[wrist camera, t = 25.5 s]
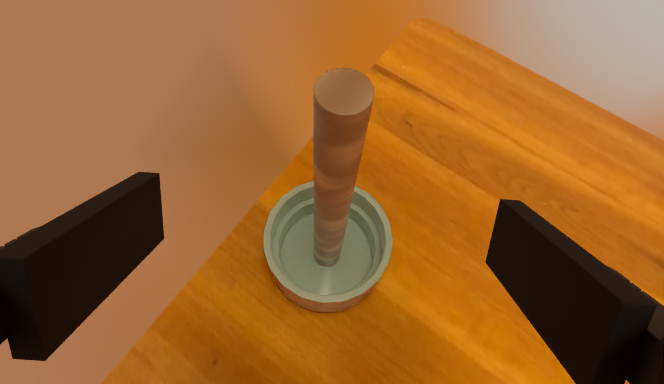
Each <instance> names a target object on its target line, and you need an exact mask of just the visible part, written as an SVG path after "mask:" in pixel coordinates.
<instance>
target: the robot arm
mask: <svg viewBox="0 0 664 384" xmlns="http://www.w3.org/2000/svg"><path fill="white" fill-rule="evenodd" d="M163 239H164V231H163V217H162V204H161V191H160V177H159V173H149V172H138V173H136V174H134V175H132V176H131V177H129V178H127V179H125V180H123V181H122V182H120V183H118V184H116V185H115V186H113V187H111V188H109V189H107V190H106V191H104V192H102V193H100V194H98V195H96V196H95V197H93V198H91V199H89V200H88V201H86V202H84V203H82V204H80V205H79V206H77V207H75V208H73V209H71V210H70V211H68V212H66V213H65V214H62V215H61V216H59V217H57V218H55V219H53V220H52V221H50V222H48V223H46V224H45V225H43V226H41V227H37V228H34V229H32V230H30V231H28V232H26V233H25V234H23V235H21V236H19V237H17V239H14V240H12V241H10V242H8V243H6V244H5V246H1V247H0V344H1V343H2V342H4V341H5V340H6V339H7V338H8V342H9V346H10V350H11V354H12V358H13V359H24V360H38V361H39V360H40V361H45V360H46V359H47V358H48V357H49V356H50V355H51V354H52V353H53V352H54V351H55V350H56V349H57V348H58V347H59V346H60V345H61V344H62V343H63V342H64V341H65V340H66V339H67V338H68V337H69V336H70V335H71V334H72V333H73V332H74V331H75V330H76V328H77V327H79V326H80V324H81V323H82V322H83V321H84V320H85V319H86V318H87V317H88V316H89V315H90V314H91V313H92V312H93V311H94V310H95V309H96V308H97V307H98V306H99V305H100V304H101V303H102V302H103V301H104V300H105V299H106V298H107V297H108V296H109V295H110V294H111V293H112V292H113V291H114V290H115V289H116V287H117V286H118V285H119V284H120V283H121V282H122V281H123V280H124V279H125V278H126V277H127V276H128V275H129V274H130V273H131V272H132V271H133V270H134V269H135V268H136V267H137V266H138V265H139V264H140V263H141V262H142V261H143V260H144V259H145V257H147V256H148V255H149V254H150V252H152V251H153V249H154V248H155V247H156V246H157V245H158V244H159V243H160V242H161V241H162V240H163ZM486 264H487V265H488V266H489V268H490V269H491V270H492V272H493V273H494V274H495V276H496V277H497V278H498V280H499V281H500V282H501V284H502V285H503V286H504V288H505V289H506V290H507V292H508V293H509V294H510V296H511V297H512V298H513V300H514V301H515V302H516V304H517V305H518V307H519V308H520V309H521V311H522V312H523V313H524V315H525V316H526V317H527V319H528V320H529V321H530V323H531V324H532V325H533V327H534V328H535V329H536V331H537V332H538V333H539V335H540V336H541V337H542V339H543V340H544V341H545V343H546V344H547V345H548V347H549V348H550V349H551V351H552V352H553V354H554V355H555V356H556V358H557V359H558V360H559V362H560V363H561V364H562V366H563V367H564V368H565V370H566V371H567V372H568V374H569V375H570V376H571V378H572V379H573V380H574V382H575V383H576V384H624V383H625V381H626V380H627V381H628V382H629V383H630V384H664V306H663V305H661V304H660V303H659V302H657V301H656V300H655V299H653V298H652V297H651V296H649V295H648V294H647V293H645V292H644V291H641V289H640V288H639V287H637V286H636V285H635V284H633V283H630V281H629V280H628V279H627V278H625V277H624V276H623V275H621V274H620V273H619V272H617V271H616V270H614V269H612V268H610V267H608V266H606V265H604V264H603V263H602V262H600V261H599V260H598V259H596V258H595V257H594V256H592V255H591V254H590V253H588V252H587V251H586V250H585V249H583V248H582V247H581V246H579V245H578V244H577V243H575V242H574V241H573V240H571V239H570V238H569V237H567V236H566V235H565V234H563V233H562V232H561V231H559V230H558V229H557V228H555V227H554V226H553V225H551V224H550V223H549V222H548V221H546V220H545V219H544V218H542V217H541V216H540V215H538V214H537V213H536V212H534V211H533V210H532V209H530V208H529V207H528V206H526V205H525V204H524V203H522V202H521V201H518V200H505V199H500V203H499V207H498V211H497V215H496V220H495V224H494V228H493V232H492V237H491V241H490V245H489V249H488V254H487V258H486Z"/></svg>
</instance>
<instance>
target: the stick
mask: <svg viewBox="0 0 664 384" xmlns="http://www.w3.org/2000/svg"><path fill="white" fill-rule="evenodd" d="M373 99H374V88H373V85H372V83H371V81H370V80H369V79H368V78H367V77H366V76H365V75H364V74H362V73H361V72H359V71H357V70H354V69H349V68H336V69H332V70H329V71H327V72H325V73H324V74H322V75H321V76H320V77H319V78H318V79H317V81H316V83H315V85H314V258H315V260H316V262H317V263H318V264H319V265H321V266H324V267H330V266H333V265H334V264H336V263H337V262H338V260H339V257H340V253H341V248H342V244H343V239H344V234H345V230H346V225H347V220H348V216H349V211H350V206H351V202H352V197H353V192H354V188H355V183H356V178H357V174H358V169H359V165H360V160H361V155H362V151H363V146H364V141H365V137H366V132H367V127H368V123H369V118H370V113H371V109H372V104H373Z"/></svg>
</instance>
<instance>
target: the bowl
mask: <svg viewBox="0 0 664 384" xmlns="http://www.w3.org/2000/svg"><path fill="white" fill-rule="evenodd" d="M392 242H393V241H392V234H391V227H390V223H389V221H388V219H387V217H386V215H385V213H384V211H383V209H382V207H381V206H380V205H379V204H378V203H377V202H376V200H375V199H374V198H373V197H372V196H371V195H370V194H369V193H368V192H366V191H364V190H362V189H361V188H359V187H357V186H355V188H354V192H353V197H352V202H351V206H350V211H349V216H348V220H347V225H346V230H345V234H344V239H343V244H342V248H341V253H340V257H339V260H338V262H337V263H336V264H334V265H333V266H330V267H324V266H321V265H319V264H318V263H317V262H316V260H315V258H314V181H311V182H308V183H305V184H302V185H299V186H296V187H295V188H293V189H292V190H291V191H289V192H288V193H286V194H285V195H284V196H282V197H281V198H280V200H279V201H278V202H277V204H276V205H275V206H274V207H273V209H272V210H271V211H270V213H269V216H268V219H267V222H266V225H265V228H264V231H263V250H264V253H265V256H266V259H267V262H268V265H269V268H270V270H271V273H272V275H273V278H274V280H275V282H276V284H277V285H278V287H279V288H280V289H281V291H282V292H283V293H284V294H285V296H286V297H287V298H289V299H290V300H292V301H293V302H295V303H296V304H298V305H299V306H301V307H303V308H306V309H310V310H313V311H317V312H336V311H342V310H344V309H346V308H349V307H351V306H354V305H356V304H357V303H359V302H360V301H361V300H362V299H363V298H365V297H366V296H367V295H368V294H369V293H370V292H371V291H372V290H373V288H374V287H375V285H376V284H377V282H378V281H379V279H380V277H381V276H382V274H383V272H384V270H385V269H386V267H387V265H388V263H389V261H390V255H391V250H392V244H393V243H392Z"/></svg>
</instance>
